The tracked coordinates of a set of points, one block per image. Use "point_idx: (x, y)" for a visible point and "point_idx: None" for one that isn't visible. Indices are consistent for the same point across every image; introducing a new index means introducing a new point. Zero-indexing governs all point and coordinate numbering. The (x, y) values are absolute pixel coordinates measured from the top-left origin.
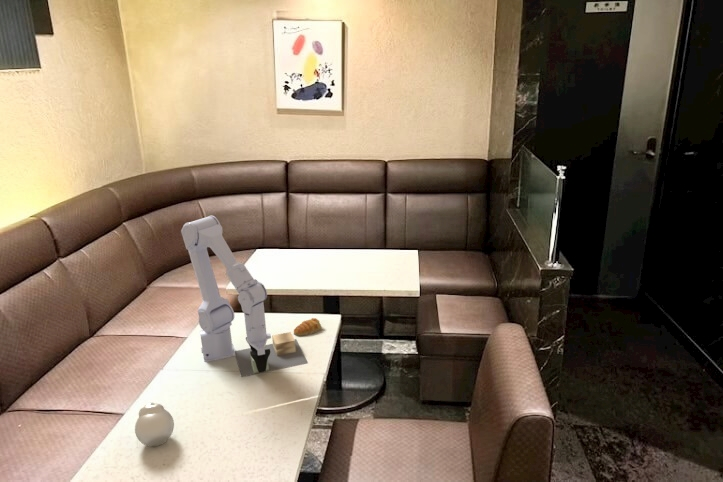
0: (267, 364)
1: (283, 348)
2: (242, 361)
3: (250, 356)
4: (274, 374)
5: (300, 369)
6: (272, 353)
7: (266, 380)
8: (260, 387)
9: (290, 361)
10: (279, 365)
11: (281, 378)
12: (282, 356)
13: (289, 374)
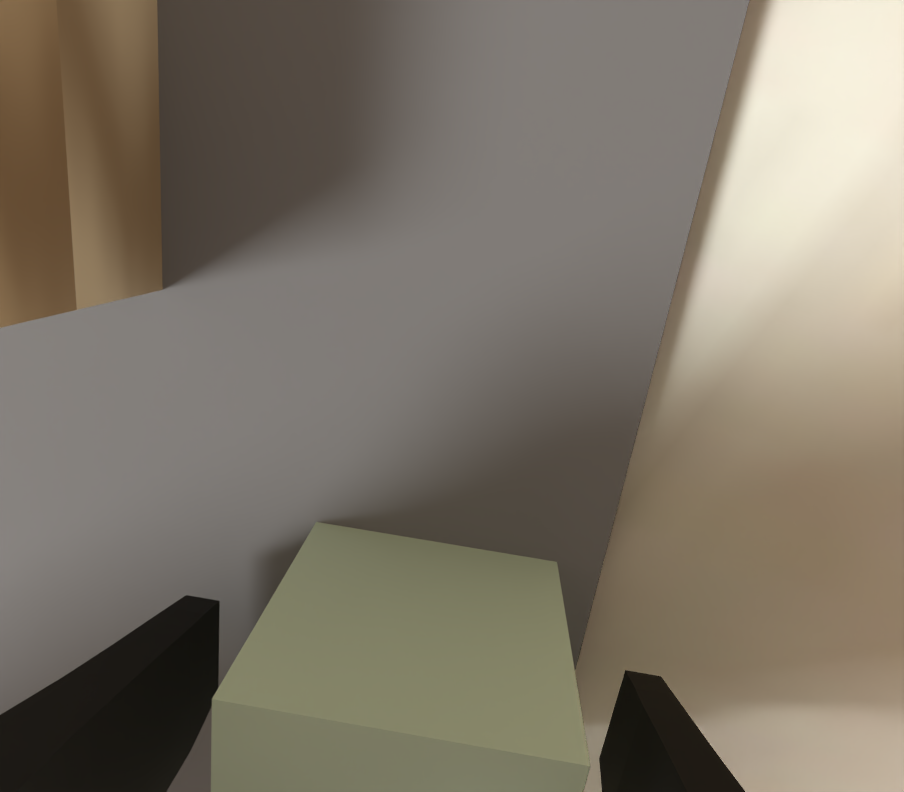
0: (568, 649)
1: (63, 118)
2: None
3: (41, 644)
4: (701, 512)
5: (879, 18)
6: (57, 332)
7: (778, 656)
8: (886, 767)
9: (503, 117)
10: (527, 369)
11: (896, 462)
12: (237, 201)
13: (883, 298)
